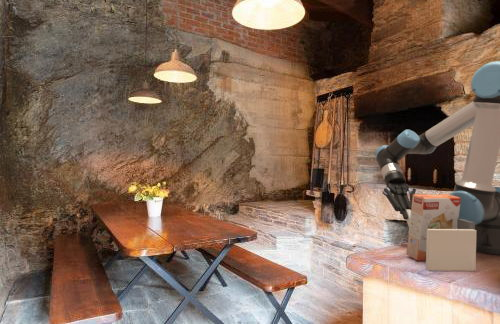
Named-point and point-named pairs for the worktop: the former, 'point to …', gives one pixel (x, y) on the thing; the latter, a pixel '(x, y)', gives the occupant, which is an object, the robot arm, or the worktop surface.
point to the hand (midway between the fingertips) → (412, 226)
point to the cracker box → (430, 220)
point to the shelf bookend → (452, 248)
